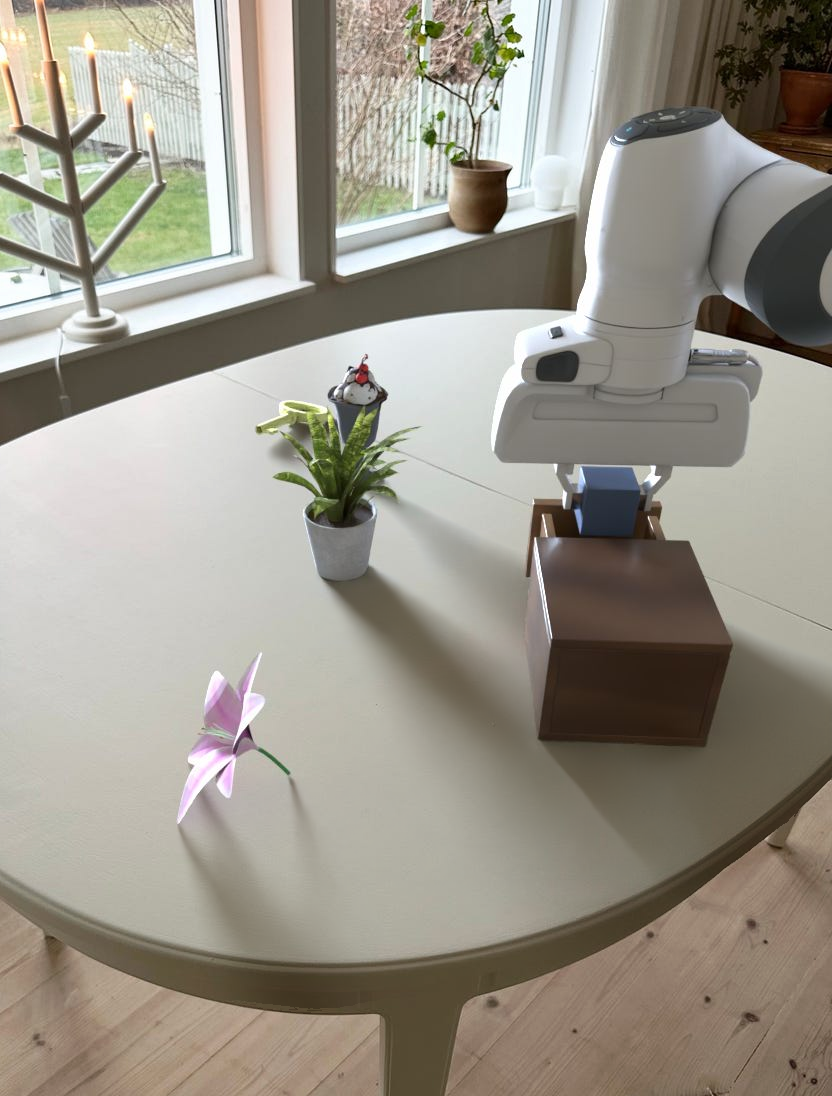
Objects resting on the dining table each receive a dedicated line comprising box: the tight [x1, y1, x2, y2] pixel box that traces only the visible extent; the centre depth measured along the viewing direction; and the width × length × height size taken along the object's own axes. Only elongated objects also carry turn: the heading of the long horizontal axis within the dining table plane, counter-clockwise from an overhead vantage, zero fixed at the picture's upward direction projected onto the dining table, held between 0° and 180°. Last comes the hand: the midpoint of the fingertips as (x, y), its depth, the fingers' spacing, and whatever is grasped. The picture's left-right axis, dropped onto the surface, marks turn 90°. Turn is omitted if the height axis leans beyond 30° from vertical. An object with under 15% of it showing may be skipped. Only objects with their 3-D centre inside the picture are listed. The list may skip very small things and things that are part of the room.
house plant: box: [270, 405, 423, 582], centre depth 88 cm, size 14×14×16 cm
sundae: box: [326, 353, 389, 486], centre depth 106 cm, size 7×7×15 cm
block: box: [574, 465, 641, 537], centre depth 82 cm, size 4×4×4 cm
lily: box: [176, 652, 291, 825], centre depth 68 cm, size 12×12×10 cm
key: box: [254, 400, 328, 436], centre depth 121 cm, size 7×12×2 cm, turn 165°
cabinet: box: [523, 537, 734, 747], centre depth 76 cm, size 15×13×10 cm
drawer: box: [524, 498, 667, 579], centre depth 85 cm, size 18×11×8 cm, turn 176°
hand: (604, 507), depth 82 cm, fingers closed on block, 4 cm apart
